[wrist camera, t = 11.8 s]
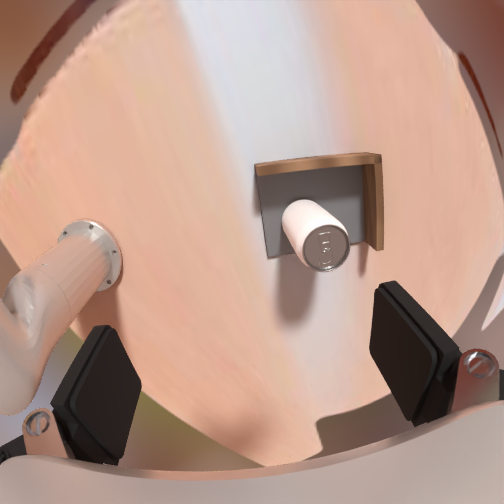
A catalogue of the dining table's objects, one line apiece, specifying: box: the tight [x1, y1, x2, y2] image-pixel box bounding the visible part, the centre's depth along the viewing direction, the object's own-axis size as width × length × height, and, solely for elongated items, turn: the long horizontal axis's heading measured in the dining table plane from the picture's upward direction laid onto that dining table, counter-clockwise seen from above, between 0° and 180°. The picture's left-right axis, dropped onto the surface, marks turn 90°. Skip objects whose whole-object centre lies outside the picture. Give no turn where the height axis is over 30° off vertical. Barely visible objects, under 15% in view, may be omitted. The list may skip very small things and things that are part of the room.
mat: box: [256, 165, 365, 257], centre depth 42 cm, size 17×14×1 cm
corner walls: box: [255, 152, 384, 251], centre depth 40 cm, size 17×14×5 cm
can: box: [282, 199, 350, 272], centre depth 37 cm, size 6×6×12 cm
